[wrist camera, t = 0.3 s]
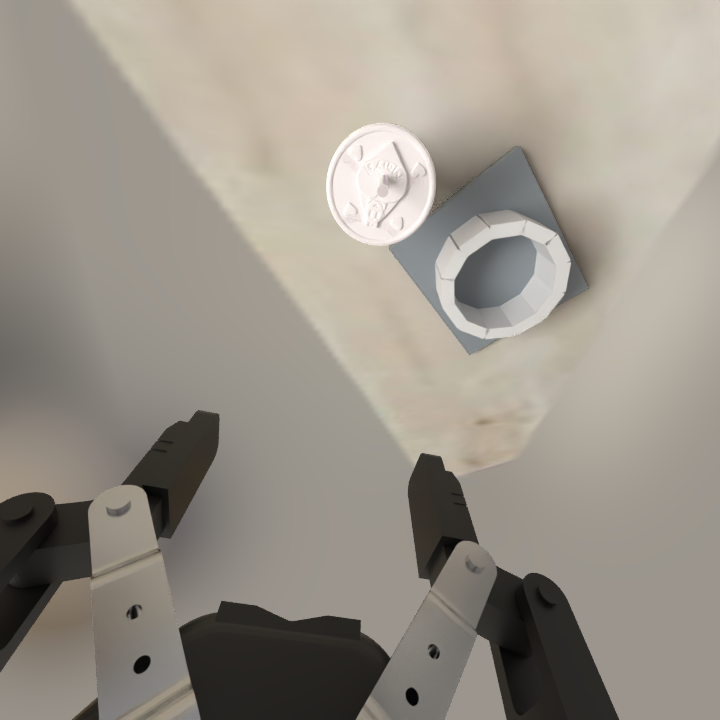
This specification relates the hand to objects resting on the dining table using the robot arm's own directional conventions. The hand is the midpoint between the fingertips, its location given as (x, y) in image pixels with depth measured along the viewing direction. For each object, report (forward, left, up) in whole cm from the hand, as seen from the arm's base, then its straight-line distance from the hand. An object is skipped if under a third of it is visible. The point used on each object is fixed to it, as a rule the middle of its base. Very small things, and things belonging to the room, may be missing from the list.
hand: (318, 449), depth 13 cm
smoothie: (-6, -5, -22) cm, 24 cm away
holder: (-9, +7, -22) cm, 25 cm away
